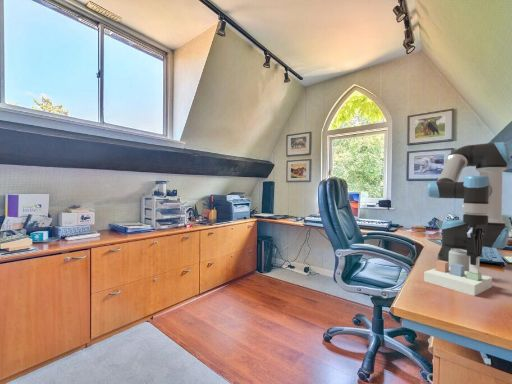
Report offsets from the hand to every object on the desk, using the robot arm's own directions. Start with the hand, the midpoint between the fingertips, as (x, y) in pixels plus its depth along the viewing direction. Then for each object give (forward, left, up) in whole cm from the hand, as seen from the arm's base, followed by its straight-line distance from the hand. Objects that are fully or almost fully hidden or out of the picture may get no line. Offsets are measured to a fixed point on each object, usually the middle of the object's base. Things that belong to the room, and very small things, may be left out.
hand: (474, 272), depth 97 cm
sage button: (0, 0, -5) cm, 5 cm away
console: (0, -6, -7) cm, 9 cm away
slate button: (0, -6, -4) cm, 7 cm away
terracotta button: (0, -11, -4) cm, 12 cm away
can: (-14, -10, -7) cm, 19 cm away
